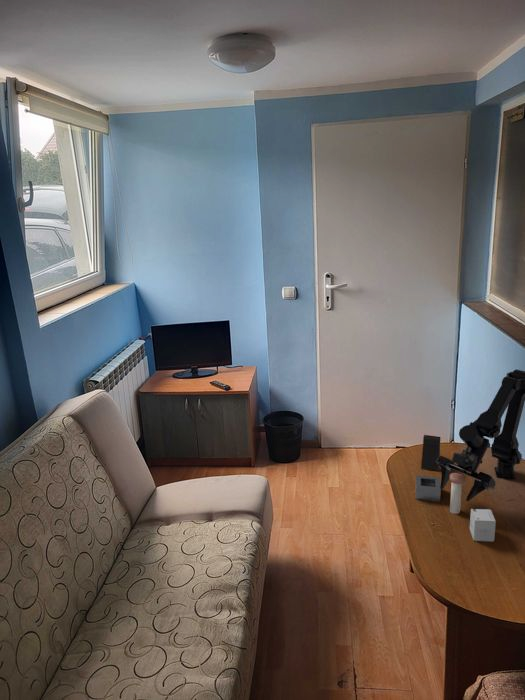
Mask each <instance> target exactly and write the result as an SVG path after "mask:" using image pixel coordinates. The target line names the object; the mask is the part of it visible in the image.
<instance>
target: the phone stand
mask: <svg viewBox="0 0 525 700" xmlns="http://www.w3.org/2000/svg"><path fill="white" fill-rule="evenodd" d="M422 438H423V440H422V453H421V454H422V455H421V463H420V465H421V466H420V469H423V470H429V471H435V472H438V470H439V464H438V463H437V462H436V460H437V458H438V457H440V456H441V436H436V435H428V434H424V435H423V437H422Z"/></svg>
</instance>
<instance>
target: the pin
mask: <svg viewBox="0 0 525 700" xmlns="http://www.w3.org/2000/svg"><path fill="white" fill-rule="evenodd" d="M451 473H452V474H450V478H449V481H450V482H451V486H450V487H451V488H450V502H449V512H450V513H451V514H454V515H459V514H460V513H461V504H462V491H463V490H462V489H463V484H464V483H465V481H466V480H465V479H466V477H465V476H466V475H465V474H463V473H460V472H451Z"/></svg>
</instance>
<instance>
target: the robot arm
mask: <svg viewBox="0 0 525 700" xmlns="http://www.w3.org/2000/svg"><path fill="white" fill-rule="evenodd" d="M524 407H525V371H524V370H521V369H514V370H513V371H510V372H507V373H506V376H504V377H503V378H502V381H501V385H500V387H499V388H498V391H497V392H496V394H495V395H494V398H493V400H492V401H491V404H490V405H489V406H488V408H487V410H485V411H483V412H482V413H479V414H480V415H479V416H477V419H475V420H474V421H473V422H472V421H471V422H470V423H469V424H467V425H464V426H463V427H461V428H460V429H459V432H458V436H459V438H460V440H461V441H463V443H464V444H465V445H466V448H465V449H463V450H462V451H461V452H453V455H452V459H450V458H449V457H445V456H444V455H440V457H438V458H437V460H436V462H437V463H438V464H439V466H438V468H440V470H441V477H440V489H441V491H442V490H444V488H445V487H446V485H447V483H448V481H450V474H452V473H453V472H452V471H453V470H454V471H456V472H457V473H460V474H462V475H464V476H468V477H471V478H473V479H474V480H473V485H472V487H471V489H470V490H469V492H468V494H467V497H466V499H465V501H466V502H470V501H471V500H472V499H474V498H475V497H476V496H477V495H479V494H480V493H482V492H483V491H485V490H487V491H488V490H489V489H492V490H494V489H495V486H496V484H497V483H496V480H495V479H494V477H493V476H492V475H491V474H487V473H485V472H484V471H483V472H482V471H479V472H478V471H477V470H478V468H479V466H480V465H482V463H483V459H484V456H485V454H486V452H487V450H488V448H490V450H491V456H492V458H495V459H497V461H496V466H494V473H495V476H496V478H503V479H511V480H515V479H517V477H516V474H515V466H516V465H519V464H521V461H522V457H523V454H522V453H521V452H520V451H519V446H520V444H519V441H518V438H517V433H518V429H519V425H520V422H521V417H522V413H523V409H524ZM505 411H506V413H505ZM504 414H505V417H504V422H503V426H502V419H503V416H504ZM501 428H502V429H501ZM490 439H493V442H492V444H491V443H490Z"/></svg>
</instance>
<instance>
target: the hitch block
mask: <svg viewBox="0 0 525 700" xmlns="http://www.w3.org/2000/svg"><path fill="white" fill-rule="evenodd" d="M440 487H441V477H438V476H429V475H427V476H425V475H415V500H422V501H430V500H431V502H432V501H433V502H441V493H442V492H441V491H442V489H440Z"/></svg>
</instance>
